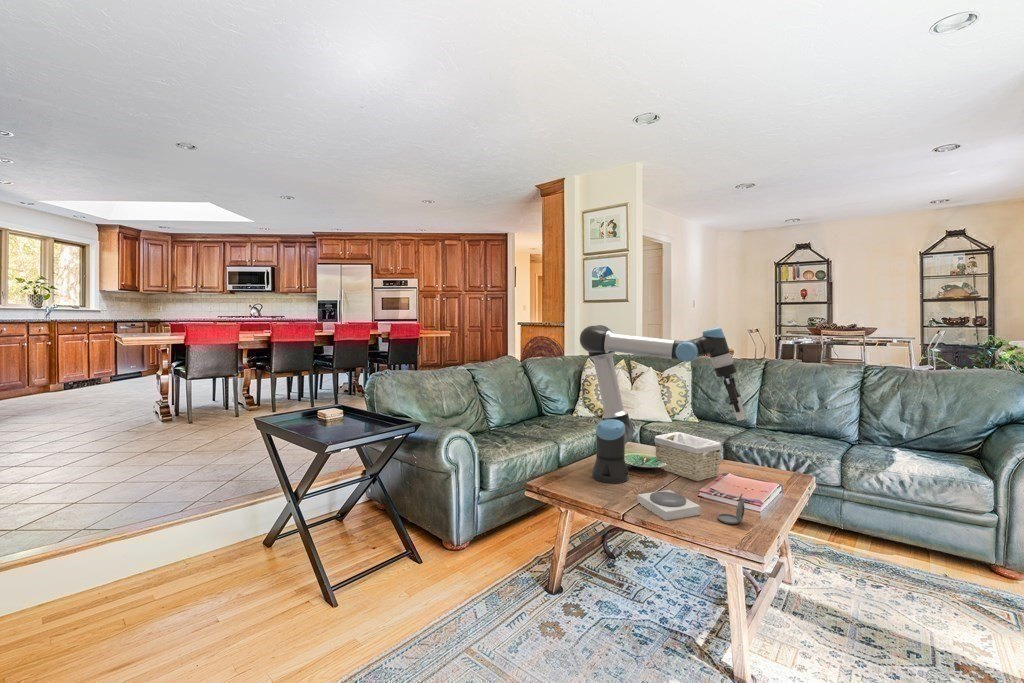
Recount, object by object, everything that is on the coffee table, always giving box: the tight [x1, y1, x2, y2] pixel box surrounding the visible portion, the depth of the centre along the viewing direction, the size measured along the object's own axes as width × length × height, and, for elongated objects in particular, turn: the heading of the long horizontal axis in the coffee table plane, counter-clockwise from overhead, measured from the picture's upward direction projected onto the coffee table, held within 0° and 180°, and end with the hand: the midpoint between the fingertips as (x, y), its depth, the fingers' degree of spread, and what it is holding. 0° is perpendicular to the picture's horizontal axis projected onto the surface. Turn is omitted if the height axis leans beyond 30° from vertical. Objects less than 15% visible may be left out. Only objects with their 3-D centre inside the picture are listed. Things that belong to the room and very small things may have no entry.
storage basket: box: [653, 431, 723, 482], centre depth 202 cm, size 24×16×15 cm
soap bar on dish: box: [637, 489, 701, 521], centre depth 163 cm, size 16×14×4 cm
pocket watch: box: [717, 493, 746, 525], centre depth 152 cm, size 8×8×10 cm
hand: (741, 416), depth 184 cm, fingers open, 13 cm apart
